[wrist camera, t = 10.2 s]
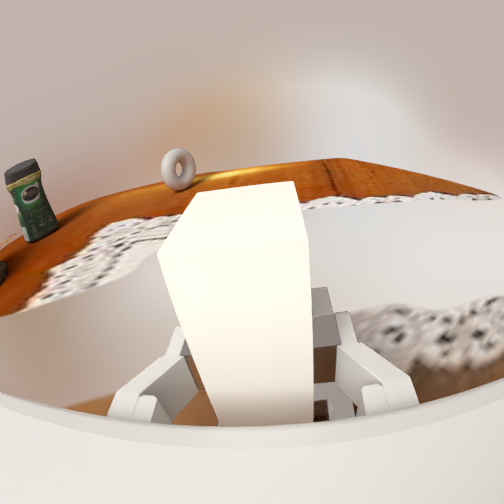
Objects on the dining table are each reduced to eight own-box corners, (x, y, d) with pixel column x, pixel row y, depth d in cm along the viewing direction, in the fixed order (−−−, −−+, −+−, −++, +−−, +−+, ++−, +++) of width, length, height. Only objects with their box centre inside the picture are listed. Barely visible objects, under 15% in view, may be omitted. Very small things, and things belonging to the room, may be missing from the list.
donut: (192, 182, 76) (184, 144, 72) (202, 182, 75) (194, 143, 70) (163, 196, 69) (153, 155, 65) (173, 197, 68) (163, 154, 63)
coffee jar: (54, 224, 69) (33, 157, 60) (62, 228, 64) (39, 154, 56) (23, 241, 63) (0, 172, 54) (29, 246, 58) (3, 170, 49)
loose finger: (311, 476, 11) (307, 238, 6) (246, 479, 12) (156, 253, 6) (306, 401, 15) (291, 176, 10) (252, 405, 16) (200, 187, 10)
